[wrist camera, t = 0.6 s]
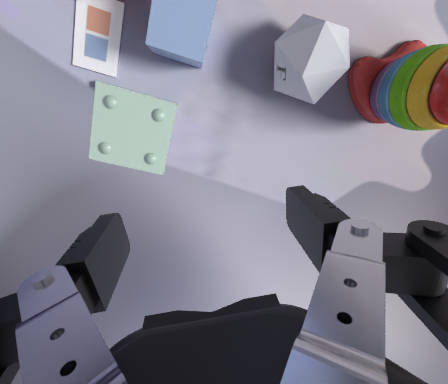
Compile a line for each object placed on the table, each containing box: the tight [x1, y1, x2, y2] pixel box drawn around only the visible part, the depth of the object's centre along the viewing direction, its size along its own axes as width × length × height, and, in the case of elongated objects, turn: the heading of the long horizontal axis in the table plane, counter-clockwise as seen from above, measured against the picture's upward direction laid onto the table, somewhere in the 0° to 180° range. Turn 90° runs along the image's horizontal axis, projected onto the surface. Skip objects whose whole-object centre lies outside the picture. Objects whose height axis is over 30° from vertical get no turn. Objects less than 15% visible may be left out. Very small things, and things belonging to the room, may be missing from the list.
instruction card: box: [72, 0, 125, 77], centre depth 28 cm, size 8×5×1 cm, turn 164°
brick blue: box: [145, 0, 217, 68], centre depth 27 cm, size 6×6×6 cm
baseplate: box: [89, 81, 178, 175], centre depth 32 cm, size 10×10×1 cm
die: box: [274, 14, 350, 104], centre depth 29 cm, size 8×9×10 cm
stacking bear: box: [349, 40, 448, 130], centre depth 27 cm, size 11×10×18 cm
